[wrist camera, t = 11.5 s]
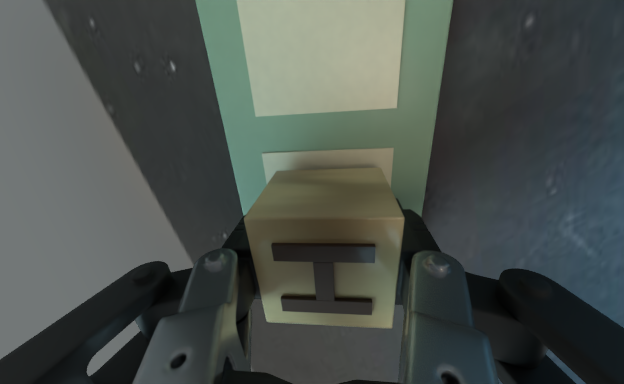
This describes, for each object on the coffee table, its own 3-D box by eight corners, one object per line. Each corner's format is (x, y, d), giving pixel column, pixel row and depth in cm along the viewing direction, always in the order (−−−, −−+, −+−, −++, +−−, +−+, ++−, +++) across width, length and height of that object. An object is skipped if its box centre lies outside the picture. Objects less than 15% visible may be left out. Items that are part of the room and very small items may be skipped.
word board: (262, 274, 15) (257, 285, 14) (172, -150, 8) (152, -178, 7) (407, 277, 14) (412, 289, 13) (474, -215, 6) (494, -257, 6)
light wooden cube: (287, 251, 12) (265, 326, 9) (276, 170, 10) (240, 221, 7) (376, 253, 12) (393, 333, 8) (381, 167, 10) (407, 220, 6)
